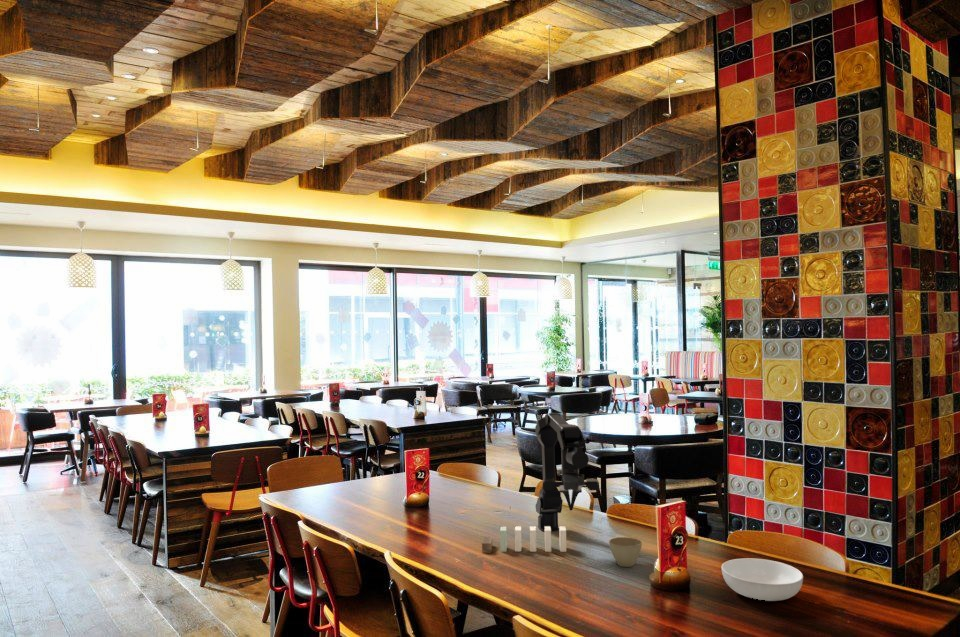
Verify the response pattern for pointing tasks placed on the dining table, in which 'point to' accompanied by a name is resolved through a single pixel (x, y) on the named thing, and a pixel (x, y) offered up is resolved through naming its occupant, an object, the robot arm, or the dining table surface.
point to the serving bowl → (762, 578)
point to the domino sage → (503, 539)
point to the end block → (487, 545)
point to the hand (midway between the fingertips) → (571, 510)
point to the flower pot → (625, 550)
